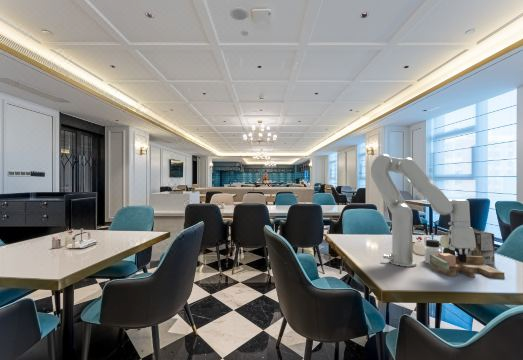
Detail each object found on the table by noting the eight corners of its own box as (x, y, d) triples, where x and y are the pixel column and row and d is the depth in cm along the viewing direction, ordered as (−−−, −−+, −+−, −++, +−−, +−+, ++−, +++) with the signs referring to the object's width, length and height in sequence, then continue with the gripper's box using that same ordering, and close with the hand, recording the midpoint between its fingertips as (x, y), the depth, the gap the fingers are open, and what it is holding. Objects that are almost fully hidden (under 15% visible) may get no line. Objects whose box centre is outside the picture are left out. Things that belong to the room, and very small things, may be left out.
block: (444, 266, 123) (444, 255, 123) (438, 263, 128) (438, 253, 128) (455, 266, 122) (455, 256, 123) (448, 263, 127) (448, 253, 128)
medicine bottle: (441, 265, 133) (441, 242, 133) (425, 263, 136) (424, 240, 137) (440, 261, 139) (440, 239, 139) (424, 259, 142) (424, 238, 143)
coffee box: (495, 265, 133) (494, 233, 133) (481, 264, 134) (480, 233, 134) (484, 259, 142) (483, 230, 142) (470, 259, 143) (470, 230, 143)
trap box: (446, 275, 117) (445, 262, 117) (430, 266, 131) (429, 254, 131) (504, 278, 114) (504, 264, 114) (481, 268, 128) (481, 256, 128)
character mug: (463, 261, 138) (463, 237, 138) (452, 262, 137) (452, 238, 137) (446, 256, 149) (445, 234, 149) (435, 257, 148) (435, 234, 148)
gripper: (448, 225, 123) (450, 264, 122) (482, 225, 121) (484, 264, 120) (439, 223, 130) (441, 259, 130) (472, 223, 128) (473, 260, 128)
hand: (462, 261), depth 125 cm, fingers closed
